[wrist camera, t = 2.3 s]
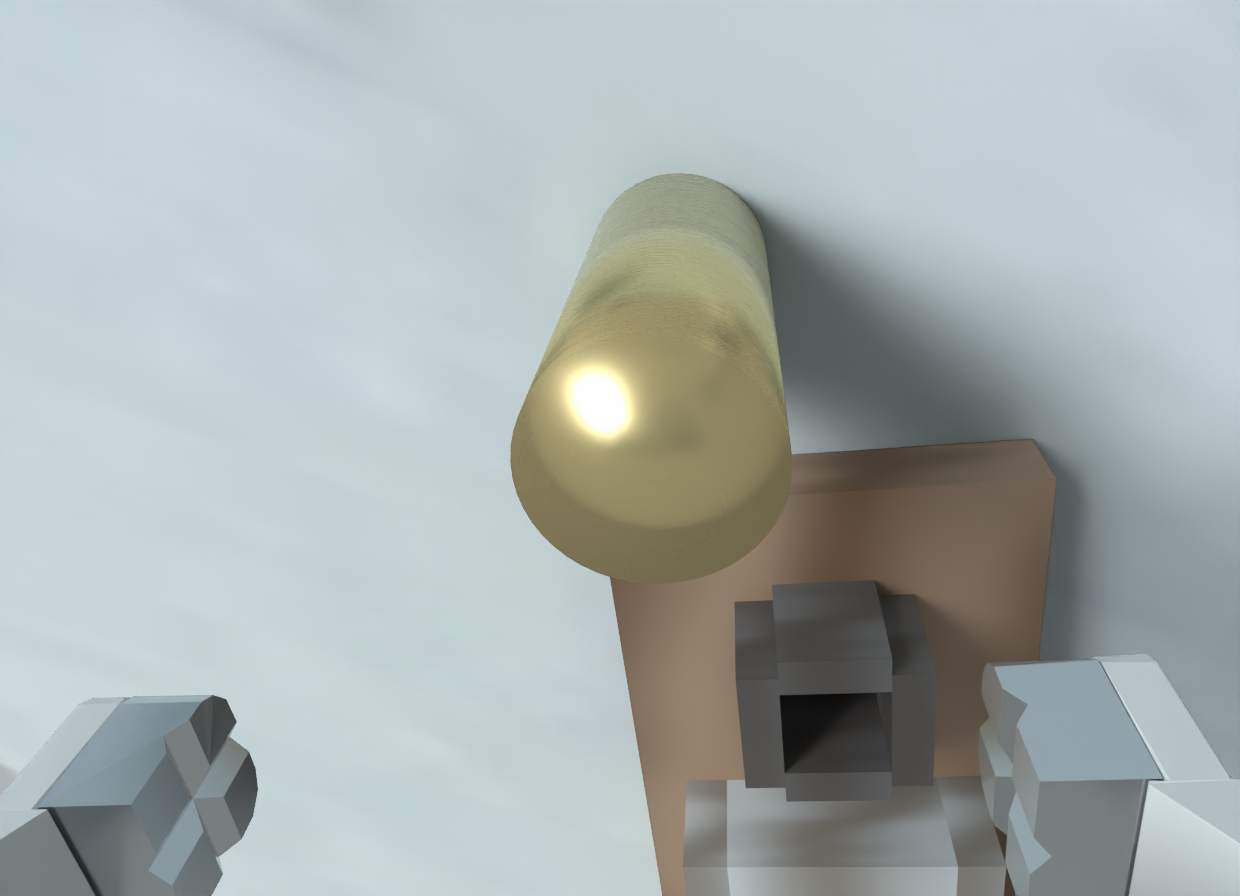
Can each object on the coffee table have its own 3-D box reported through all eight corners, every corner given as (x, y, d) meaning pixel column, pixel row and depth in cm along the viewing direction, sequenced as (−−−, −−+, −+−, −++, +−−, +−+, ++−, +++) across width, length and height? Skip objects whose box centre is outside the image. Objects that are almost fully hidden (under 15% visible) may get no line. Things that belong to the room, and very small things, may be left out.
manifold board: (1032, 438, 24) (1100, 552, 20) (992, 919, 33) (1032, 1070, 29) (606, 466, 26) (582, 577, 21) (677, 917, 35) (670, 1060, 30)
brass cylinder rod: (761, 164, 22) (785, 326, 13) (771, 335, 24) (798, 577, 15) (579, 183, 22) (486, 351, 13) (604, 349, 24) (535, 589, 15)
